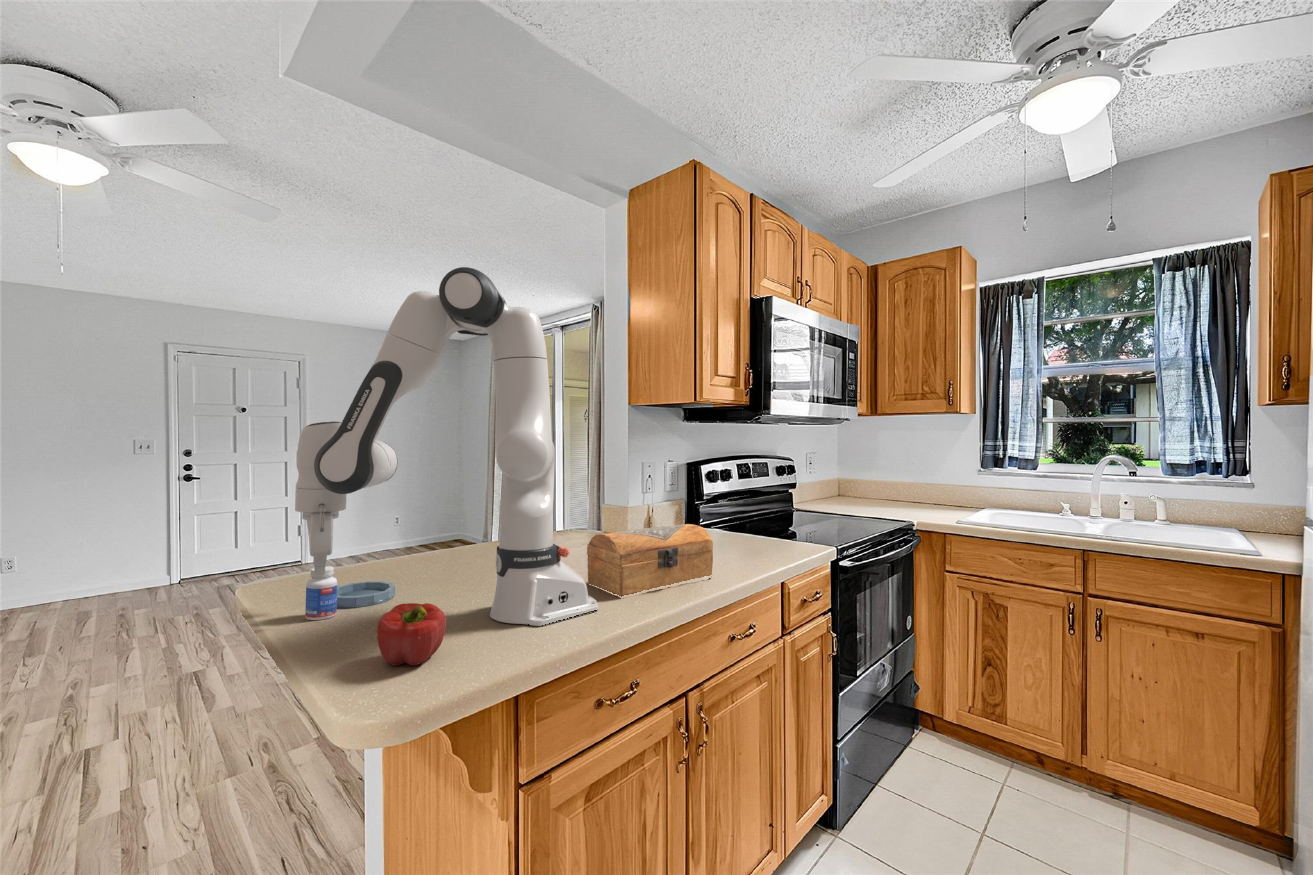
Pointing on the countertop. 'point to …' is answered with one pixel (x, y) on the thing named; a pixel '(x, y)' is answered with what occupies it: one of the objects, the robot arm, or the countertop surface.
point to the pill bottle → (321, 595)
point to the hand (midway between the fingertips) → (318, 569)
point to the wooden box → (649, 558)
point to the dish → (364, 594)
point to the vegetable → (410, 633)
